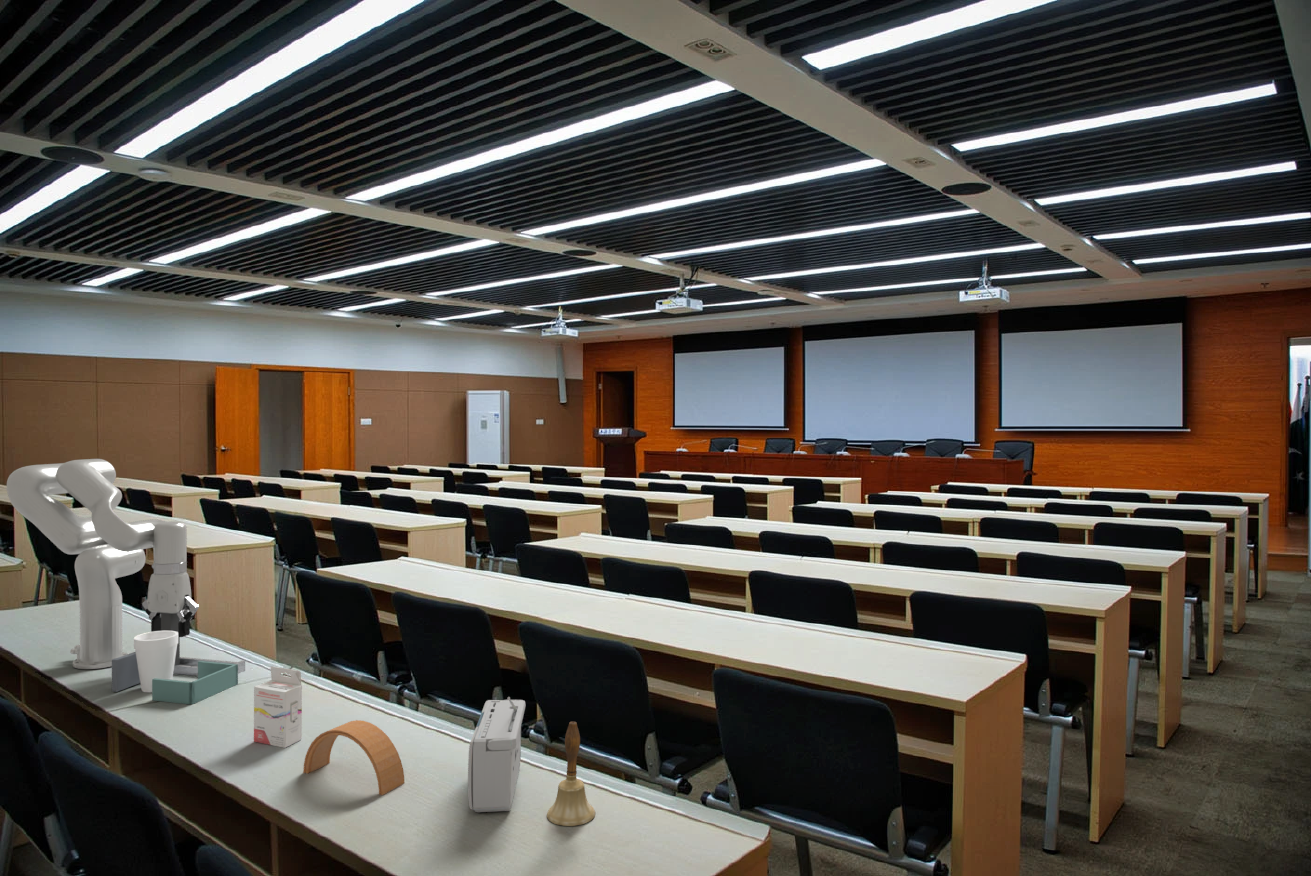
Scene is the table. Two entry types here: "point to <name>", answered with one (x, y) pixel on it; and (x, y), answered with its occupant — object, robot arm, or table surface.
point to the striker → (127, 665)
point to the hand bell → (571, 788)
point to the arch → (370, 741)
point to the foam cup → (155, 656)
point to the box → (197, 684)
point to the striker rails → (191, 665)
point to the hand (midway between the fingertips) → (170, 634)
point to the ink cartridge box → (278, 709)
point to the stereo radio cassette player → (495, 756)
